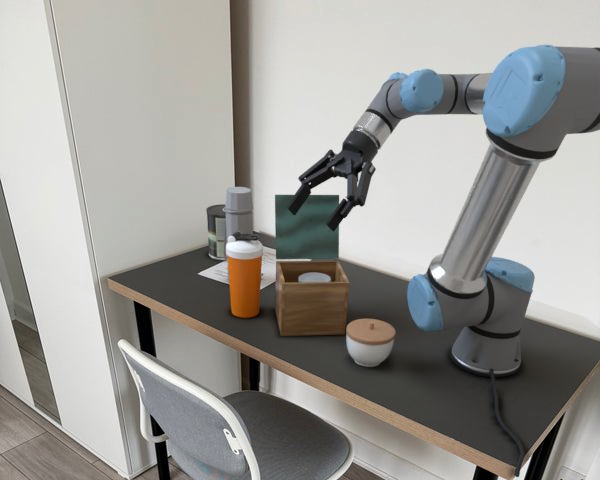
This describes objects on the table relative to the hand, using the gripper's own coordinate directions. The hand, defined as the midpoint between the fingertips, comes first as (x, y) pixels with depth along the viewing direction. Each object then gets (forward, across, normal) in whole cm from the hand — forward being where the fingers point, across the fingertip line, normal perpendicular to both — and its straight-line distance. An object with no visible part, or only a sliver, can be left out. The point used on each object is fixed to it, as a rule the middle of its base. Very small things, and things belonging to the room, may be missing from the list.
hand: (309, 219), depth 130 cm
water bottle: (+17, +33, -20) cm, 43 cm away
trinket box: (+18, -21, -20) cm, 34 cm away
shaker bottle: (+24, +15, -14) cm, 31 cm away
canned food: (+16, 0, -20) cm, 26 cm away
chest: (+17, +1, -20) cm, 27 cm away
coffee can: (+11, +52, -26) cm, 59 cm away
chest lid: (-1, +9, -9) cm, 13 cm away
